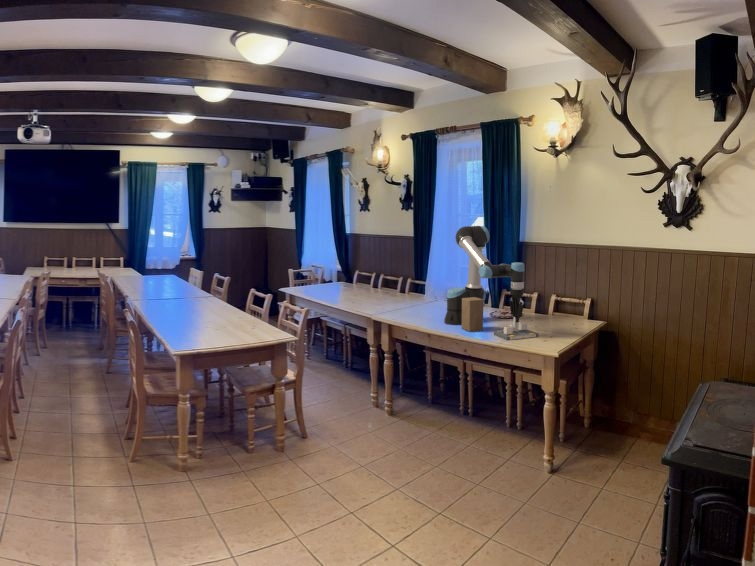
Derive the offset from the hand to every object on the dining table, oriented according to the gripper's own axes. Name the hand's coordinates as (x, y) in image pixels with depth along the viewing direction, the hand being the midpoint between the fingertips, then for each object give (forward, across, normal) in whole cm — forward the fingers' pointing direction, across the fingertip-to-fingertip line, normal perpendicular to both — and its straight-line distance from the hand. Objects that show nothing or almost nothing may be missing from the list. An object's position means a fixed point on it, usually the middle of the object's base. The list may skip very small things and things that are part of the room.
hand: (515, 327), depth 308 cm
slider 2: (+3, -2, 0) cm, 4 cm away
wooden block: (+6, -24, -16) cm, 29 cm away
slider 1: (+3, +2, -7) cm, 8 cm away
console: (+5, 0, 0) cm, 5 cm away
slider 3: (+3, -3, +7) cm, 8 cm away
